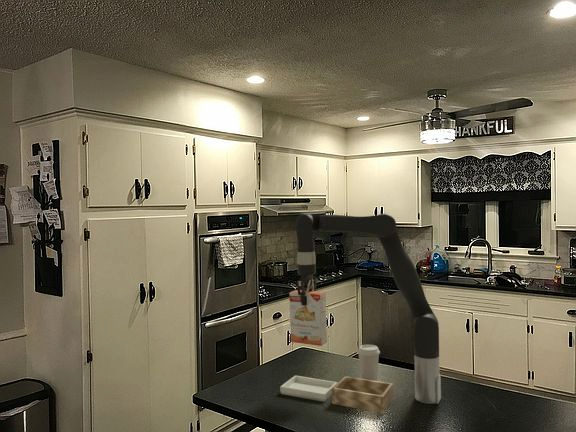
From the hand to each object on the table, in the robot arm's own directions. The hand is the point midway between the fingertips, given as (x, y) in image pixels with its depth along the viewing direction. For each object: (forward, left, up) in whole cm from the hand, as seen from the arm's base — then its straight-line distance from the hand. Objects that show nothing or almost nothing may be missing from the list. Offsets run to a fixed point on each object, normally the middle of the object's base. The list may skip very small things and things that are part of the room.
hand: (307, 303), depth 193 cm
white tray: (0, 0, -36) cm, 36 cm away
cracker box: (0, 0, -16) cm, 16 cm away
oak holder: (-23, 0, -36) cm, 43 cm away
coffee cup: (-19, -20, -36) cm, 46 cm away
